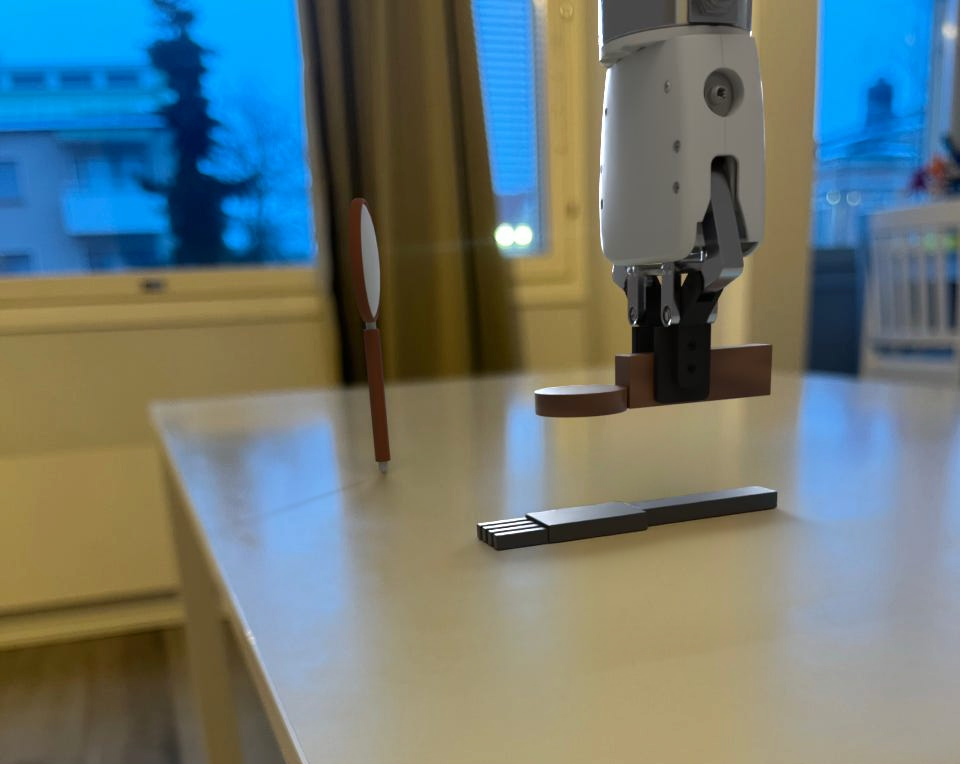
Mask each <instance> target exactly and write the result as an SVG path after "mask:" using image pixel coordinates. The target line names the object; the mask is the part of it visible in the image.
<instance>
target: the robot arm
mask: <svg viewBox="0 0 960 764" xmlns="http://www.w3.org/2000/svg"><path fill="white" fill-rule="evenodd" d="M752 22H753V0H598V36H599V37H598V45H599V46H598V47H599V65H600V66H601V67H603V68H605V69H607V71H606V77H605V86H604V87H605V88H604V97H603V110H602V124H601V142H600V143H601V144H600V162H599V163H600V164H599V166H600V167H599V227H600V229H599V230H600V244H601V250H602V254H603V256H604V257H605V258H606V260H607V261H608V262H610V263H611V264H612V272H611V277H612V281H613V283H614V284H615V285H616V286H618V288H620V289H621V290H622V291H623V292H624V294H625V297H626V299H627V320H628V324H629V325H630V326H631V354H632V353H644V352H654V400H655V401H656V402H658V403H663V404H666V403H677V402H687V401H698V400H705V399H707V398H708V396H709V393H710V360H711V347H712V325H713V324H714V323H715V322H716V321H717V318H718V313H719V312H718V311H719V299H720V297H721V295H722V293H723V292H724V289H725V288H726V287H728V286H729V285H730V284H731V283H733V282H734V281H736V279H737V278H739V277H740V276H741V275H742V274H743V271H744V267H745V263H744V262H745V260H744V258H747V257H750V256H752V255H753V254H755V253H756V251H758V249H760V247H761V245H762V243H763V241H764V234H765V225H766V190H767V189H766V186H767V185H766V181H767V180H766V129H765V125H766V124H765V109H764V108H765V107H764V94H763V82H762V73H761V66H760V59H759V55H758V48H757V47H758V46H757V42H756V37H754V36H752V26H753V23H752ZM682 275H686V276H685V279H684V281H683V282H682ZM659 277H661V281H660V279H659Z"/></svg>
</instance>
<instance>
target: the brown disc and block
mask: <svg viewBox="0 0 960 764" xmlns="http://www.w3.org/2000/svg"><path fill="white" fill-rule="evenodd" d="M773 345H774V344H769V343H746V344H745V343H744V344H732V345H731V344H730V345H720V346H711V360H710V393H709V396H708V398H707V399H705V400H698V401H687V402H677V403H666V404H663V403H658V402H656V401H655V400H654V352H644V353H632V352H631V353H619V354H615V355H614V384H576V385H573V384H572V385H562V386H553V387H546V388H540V389H537V390H535V391H534V414H535V415H536V416H539V417H542V418H543V417H545V418H556V419H557V418H560V419H561V418H563V419H564V418H565V419H566V418H568V419H569V418H570V419H572V418H574V419H575V418H576V419H577V418H591V417H593V418H594V417H604V416H611V415H618V414H621V413H625V412H626V411H628V410H634V409H635V410H636V409H643V408H644V409H645V408H654V407H664V406H675V405H676V406H677V405H685V404H695V403H696V404H697V403H705V402H715V401H726V400H735V399H744V398H746V399H748V398H754V397H757V398H758V397H765V396H770V395H771V393H772V367H773V347H774V346H773Z"/></svg>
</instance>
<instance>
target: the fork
mask: <svg viewBox="0 0 960 764" xmlns="http://www.w3.org/2000/svg"><path fill="white" fill-rule="evenodd" d="M777 507H778V491H777V490H774V489H769V488H766V487H762V486H759V485H753V486H752V485H751V486H743V487H736V488H730V489H720V490H715V491H706V492H700V493H699V492H698V493H692V494H691V493H690V494H684V495H677V496H670V497H662V498H653V499H647V500H639V501H631V502H622V501H619V500H618V501H617V500H616V501H611V502H603V503H602V502H601V503H595V504H594V503H593V504H589V505H579V506H571V507H564V508H556V509H549V510H542V511H541V510H540V511H534V512H527V513H525V514H524V517H519V518H518V517H517V518H511V519H503V520H502V519H501V520H496V521H495V520H494V521H488V522H481V523H476V537H477V538H478V539H479V540H482V541H483V542H484V543H486V544H488V545H489V546H491V547H493V548H494V549H495V550H497V551H501V550H508V549H516V548H522V547H528V546H536V545H542V544H543V545H544V544H548V543H549V544H554V543H560V542H567V541H574V540H575V541H576V540H580V539H581V540H582V539H589V538H595V537H603V536H609V535H610V536H611V535H616V534H623V533H629V532H637V531H645V530H648V526H649V527H650V526H657V525H663V524H664V525H665V524H670V523H677V522H684V521H692V520H698V519H705V518H706V519H707V518H712V517H713V518H714V517H718V516H719V517H720V516H726V515H734V514H740V513H741V514H742V513H747V512H748V513H749V512H754V511H756V512H757V511H762V510H769V509H775V508H777Z"/></svg>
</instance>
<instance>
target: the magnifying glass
mask: <svg viewBox="0 0 960 764" xmlns="http://www.w3.org/2000/svg"><path fill="white" fill-rule="evenodd" d="M348 250H349V251H348V252H349V261H350V270H351V271H350V272H351V279H352V286H353V292H354V296H355V302H356V306H357V308H358V312H359V315H360V317H361V319H362V321H363V322H364V323H365V329H363V330H362V331H363V342H364V351H365V352H364V353H365V362H366V363H365V364H366V373H367V386H368V394H369V395H368V396H369V403H370V404H369V405H370V417H371V428H372V441H373V449H374V461H375V462H376V463H378V471H379V472H380V473H381V474H383V475H384V474H387V473H388V471H389V470H390V469H389V462H390V461H391V449H390V448H391V447H390V439H389V438H390V437H389V426H388V415H387V414H388V413H387V403H386V391H385V380H384V379H385V378H384V369H383V367H384V366H383V356H382V346H381V334H380V333H381V332H380V328H377V323H376V322H377V321H378V319H379V315H380V308H381V269H380V256H379V249H378V241H377V235H376V230H375V225H374V219H373V215H372V211H371V209H370V205H369V204H368V201H367V200H366V199H365V198H363V197H356V198H353V200H351V202H350V206H349V212H348Z"/></svg>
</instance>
